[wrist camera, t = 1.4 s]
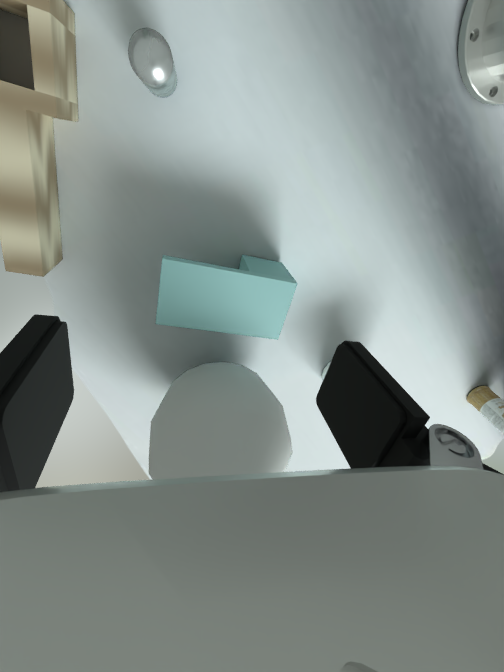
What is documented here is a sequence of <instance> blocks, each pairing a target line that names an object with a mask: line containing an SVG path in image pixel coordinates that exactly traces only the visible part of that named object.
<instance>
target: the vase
mask: <svg viewBox="0 0 504 672" xmlns="http://www.w3.org/2000/svg"><path fill="white" fill-rule="evenodd" d="M291 455H292V446H291V438H290V434H289V430H288V426H287V422H286V418H285V414H284V410H283V406H282V405H281V403H280V402H279V401H278V399H277V398H276V397H275V396H274V394H273V393H272V392H271V390H270V389H269V388H268V387H267V385H266V384H265V383H264V382H263V381H262V379H261V378H260V377H259V376H258V374H257V373H255V372H253V371H252V370H250V369H248V368H246V367H245V366H243V365H239V364H233V363H228V362H216V363H205V364H202V365H200V366H197V367H195V368H192V369H189V370H187V371H185V372H184V373H183V374H182V375H181V376H179V377H178V378H177V379H176V380H174V381H173V382H172V384H171V386H170V388H169V389H168V391H167V393H166V395H165V397H164V398H163V400H162V402H161V404H160V406H159V408H158V410H157V411H156V413H155V415H154V417H153V419H152V421H151V431H150V448H149V474H150V476H151V477H152V479H153V480H154V479H171V478H187V477H204V476H221V475H239V474H258V473H276V472H284V471H285V469H286V468H287V465H288V463H289V460H290V458H291Z"/></svg>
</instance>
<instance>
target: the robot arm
mask: <svg viewBox="0 0 504 672" xmlns="http://www.w3.org/2000/svg"><path fill="white" fill-rule="evenodd" d="M458 59H459V69H460V73H461V77H462V80H463V83H464V85H465V87H466V88H467V90H468V92H469V93H470V94H471V95H472V96H473V97H474V98H475V99H476V100H478V101H480V102H482V103H484V104H489V105H503V104H504V0H468V2H467V5H466V9H465V12H464V15H463V19H462V24H461V29H460V34H459V46H458ZM73 395H74V387H73V378H72V368H71V358H70V348H69V339H68V329H67V324H66V322H61V321H60V319H59V317H58V316H47V315H34V316H33V317H32V318H31V319H30V320H29V321H28V322H27V324H26V325H25V326H24V327H23V328H22V329H21V331H20V332H19V333H18V334H17V335H16V336H15V337H14V338H13V340H12V341H11V342H10V343H9V344H8V345H7V346H6V347H5V348H4V350H3V351H2V352H1V353H0V672H504V474H502V473H500V472H498V471H496V470H494V469H492V468H491V467H489V466H487V465H485V464H483V463H482V461H481V456H480V453H479V451H478V449H477V448H476V446H475V445H474V444H473V443H472V442H471V441H470V440H469V439H468V438H467V437H466V436H464V435H463V434H462V433H460V432H459V431H457V430H455V429H453V428H451V427H448V426H445V425H441V424H434V425H432V426H430V428H429V429H427V428H426V426H425V424H426V423H427V421H428V420H429V418H430V417H429V416H428V415H427V414H426V412H425V411H424V410H423V409H422V408H421V407H420V406H419V405H418V404H417V403H416V402H415V401H414V400H413V399H412V397H411V396H410V395H409V394H408V393H407V392H406V391H405V390H404V389H403V388H402V387H401V386H400V385H399V384H398V382H397V381H396V380H395V379H394V378H393V377H392V376H391V375H390V374H389V373H388V372H387V371H386V370H385V369H384V367H383V366H382V365H381V364H380V363H379V362H378V361H377V360H376V359H375V358H374V357H373V356H372V355H371V354H370V352H369V351H368V350H367V349H366V348H365V347H364V346H363V345H362V344H361V343H360V342H353V341H344V342H343V343H342V344H340V345H339V346H338V347H337V349H336V351H335V354H334V356H333V359H332V361H331V363H330V366H329V368H328V371H327V373H326V375H325V378H324V380H323V382H322V385H321V387H320V390H319V392H318V394H317V397H316V403H317V406H318V408H319V410H320V411H321V413H322V415H323V417H324V419H325V421H326V423H327V424H328V426H329V428H330V430H331V432H332V434H333V436H334V438H335V439H336V441H337V443H338V445H339V447H340V449H341V451H342V453H343V454H344V456H345V458H346V460H347V462H348V464H349V466H350V467H351V469H334V470H314V471H295V472H276V473H258V474H239V475H221V476H204V477H187V478H171V479H154V480H139V481H120V482H107V483H94V484H82V485H81V484H80V485H68V486H53V487H42V488H35V486H36V484H37V482H38V479H39V477H40V475H41V472H42V470H43V468H44V466H45V463H46V461H47V459H48V456H49V454H50V452H51V449H52V447H53V445H54V442H55V440H56V438H57V435H58V433H59V431H60V428H61V426H62V424H63V421H64V419H65V417H66V414H67V412H68V410H69V407H70V405H71V403H72V400H73Z"/></svg>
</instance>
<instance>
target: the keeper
mask: <svg viewBox="0 0 504 672" xmlns="http://www.w3.org/2000/svg"><path fill="white" fill-rule="evenodd" d="M296 286H297V282H296V281H295V280H294V278H293V277H292V276H291V274H290V273H289V272H288V270H287V269H286V268H285V266H284V265H283V264H282V263H281V262H276V261H271V260H266V259H261V258H257V257H252V256H247V255H242V258H241V262H240V266H239V269H234V268H229V267H224V266H218V265H213V264H208V263H202V262H197V261H192V260H187V259H181V258H176V257H171V256H166V255H163V258H162V266H161V276H160V286H159V295H158V305H157V315H156V324H159V325H167V326H175V327H183V328H191V329H198V330H206V331H214V332H222V333H230V334H237V335H245V336H253V337H261V338H269V339H277V340H278V338H279V335H280V332H281V329H282V326H283V324H284V321H285V318H286V315H287V312H288V309H289V306H290V304H291V301H292V298H293V295H294V292H295V289H296Z"/></svg>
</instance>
